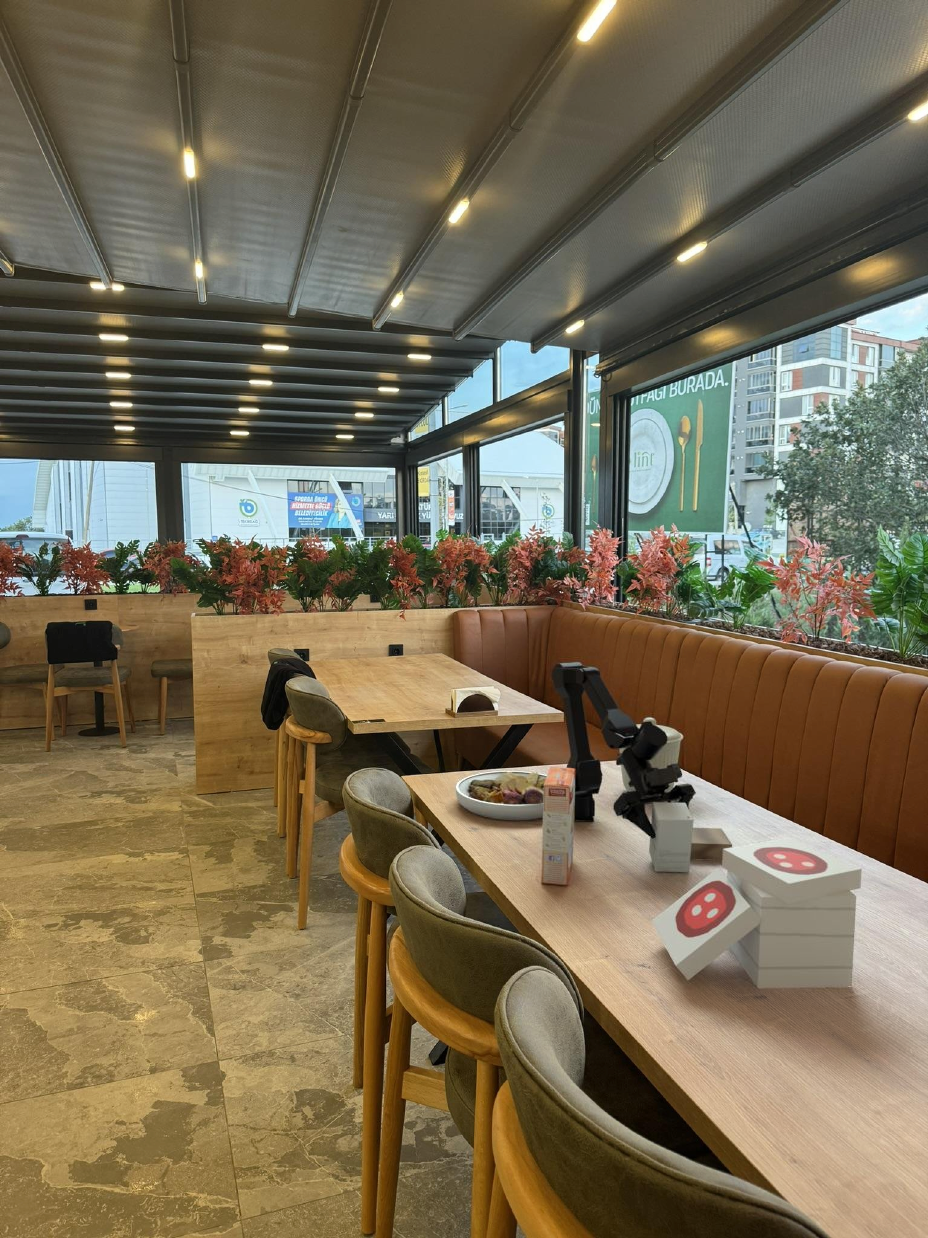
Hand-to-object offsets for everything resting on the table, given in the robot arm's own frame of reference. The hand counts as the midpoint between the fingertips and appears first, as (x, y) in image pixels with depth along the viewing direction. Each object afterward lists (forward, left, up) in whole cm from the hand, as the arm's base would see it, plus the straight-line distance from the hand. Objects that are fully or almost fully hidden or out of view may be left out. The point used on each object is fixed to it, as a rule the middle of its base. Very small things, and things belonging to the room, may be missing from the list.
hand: (672, 834), depth 172 cm
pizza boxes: (+4, -39, -8) cm, 40 cm away
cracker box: (-24, -2, -8) cm, 26 cm away
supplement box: (0, +2, -7) cm, 7 cm away
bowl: (-32, +42, -8) cm, 53 cm away
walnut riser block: (+10, +10, -8) cm, 16 cm away
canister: (+7, +53, -8) cm, 54 cm away
